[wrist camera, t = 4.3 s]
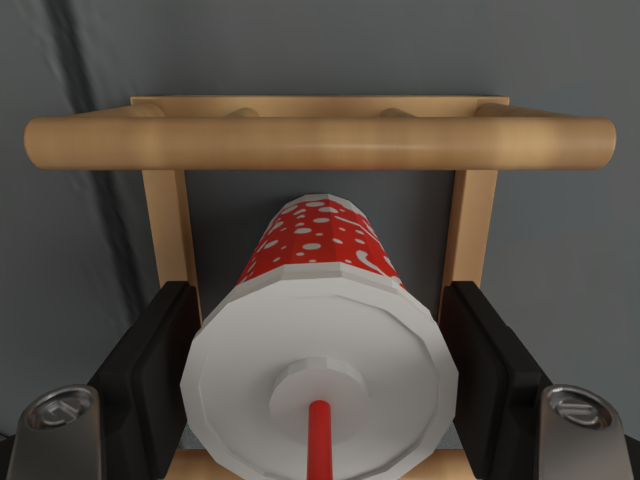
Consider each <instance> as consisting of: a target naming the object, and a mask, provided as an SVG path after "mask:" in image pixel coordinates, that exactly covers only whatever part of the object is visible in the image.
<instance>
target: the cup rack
mask: <svg viewBox="0 0 640 480" xmlns="http://www.w3.org/2000/svg"><path fill="white" fill-rule="evenodd" d="M509 99H510V98H509V97H508V96H499V95H141V96H132V97H130V101H131V105H130V106H123V107H117V108H111V109H105V110H99V111H92V112H86V113H80V114H74V115H68V116H61V117H36V118H33V119H31V120H30V121H29V122H28V123H27V125H26V127H25V129H24V135H23V141H24V147H25V151H26V153H27V156H28V158H29V159H30V161H31V162H32V163H33V164H34V165H35V166H36V167H38V168H40V169H43V170H142V175H143V181H144V188H145V194H146V200H147V207H148V213H149V219H150V225H151V232H152V238H153V244H154V251H155V257H156V263H157V270H158V276H159V282H160V289H161V288H162V287H163V285H164V284H165V283H166V282H167V281H188V282H189V284H190V286H195V287H196V290H197V297H198V305H199V314H200V322H201V328H202V324H203V323H202V315H201V307H200V298H199V290H198V282H197V274H196V265H195V257H194V249H193V240H192V232H191V224H190V216H189V207H188V199H187V191H186V182H185V174H184V170H456V172H455V180H454V189H453V197H452V205H451V214H450V222H449V230H448V238H447V247H446V255H445V263H444V272H443V280H442V288H441V296H440V305H439V313H438V321H437V325H438V327H439V322H440V314H441V305H442V297H443V290H444V287H445V286H450V284H451V282H452V281H473V282H474V283H475V284H476V285H477V287H478V288H479V287H480V281H481V274H482V268H483V262H484V255H485V249H486V243H487V236H488V230H489V224H490V217H491V211H492V205H493V198H494V192H495V186H496V179H497V173H498V170H597V169H599V168H602V167H603V166H605V165H606V164H607V163H608V162H609V160H610V159H611V157H612V155H613V153H614V150H615V146H616V131H615V127H614V125H613V123H612V122H611V121H610V120H608V119H606V118H604V117H578V116H572V115H566V114H560V113H554V112H547V111H541V110H535V109H529V108H523V107H516V106H510V105H509ZM163 480H245V479H243V478H241V477H240V476H238V475H236V474H235V473H233V472H231V471H230V470H228V469H227V468H225V467H223V466H222V465H220V464H218V463H217V462H216V461H215V460H214V459H213V457H212V456H211V455H210V454H209V452H208V451H207V450H206V449H176V451H175V454H174V456H173V459H172V462H171V464H170V467H169V469H168V472H167V475H166V477H165V478H164V479H163ZM398 480H477V479H476V478H475V477H474V475H473V472H472V470H471V467H470V464H469V462H468V459H467V456H466V454H465V451H464V449H435V450H434V452H433V453H432V454H431V455H430V456H428V457H427V458H426V459H424V460H423V461H422V462H420V463H419V464H418V465H416V466H415V467H414V468H412V469H411V470H410V471H408V472H407V473H406V474H404V475H403V476H402V477H400V478H399V479H398Z"/></svg>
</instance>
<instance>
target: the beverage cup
mask: <svg viewBox="0 0 640 480" xmlns="http://www.w3.org/2000/svg"><path fill="white" fill-rule="evenodd" d="M458 374H459V373H458V370H457V368H456V366H455V363H454V361H453V359H452V357H451V354H450V352H449V350H448V348H447V345H446V343H445V341H444V338H443V336H442V334H441V332H440V329H439V327H438V325H437V323H436V322H435V321H434V320H433V318H432V316H431V314H430V311H429V310H428V309H427V308H426V307H425V306H423V305H422V304H421V303H420V302H419V301H418V300H416V299H415V298H414V297H413V296H412V295H410V294H409V293H408V292H407V291H406V290H405V288H404V286H403V284H402V282H401V280H400V279H399V277H398V275H397V273H396V271H395V269H394V267H393V266H392V264H391V262H390V260H389V258H388V256H387V255H386V253H385V251H384V249H383V247H382V245H381V243H380V242H379V240H378V238H377V236H376V234H375V232H374V231H373V229H372V227H371V225H370V223H369V221H368V219H367V218H366V216H365V214H363V213H362V212H361V211H360V210H359V209H358V208H357V207H356V206H354V205H353V204H352V203H351V202H350V201H348V200H346V199H343V198H340V197H337V196H334V195H331V194H309V195H304V196H302V197H300V198H297V199H295V200H293V201H291V202H289V203H287V204H285V205H284V206H283V208H282V209H281V210H280V211H279V212H278V213H277V214H276V215H275V216H274V218H273V219H272V220H271V222H270V224H269V225H268V227H267V229H266V231H265V233H264V234H263V236H262V238H261V240H260V242H259V243H258V245H257V247H256V249H255V251H254V253H253V254H252V256H251V258H250V260H249V262H248V263H247V265H246V267H245V269H244V271H243V273H242V274H241V276H240V278H239V280H238V282H237V283H236V285H235V287H234V289H233V290H232V291H231V292H230V293H229V294H228V295H227V296H226V297H225V298H224V299H223V300H222V301H221V303H220V304H219V305H218V306H217V307H216V308H215V309H214V310H213V311H212V312H211V313H210V314H209V316H208V317H207V318H206V319H205V320H204V321H203V324H202V328H201V329H200V330H199V331H198V332H197V333H196V335H195V337H194V339H193V341H192V344H191V347H190V351H189V354H188V358H187V361H186V365H185V368H184V372H183V376H182V379H181V383H180V388H181V393H182V397H183V402H184V406H185V411H186V416H187V420H188V425H189V428H190V429H191V430H192V432H193V433H194V434H195V436H196V437H197V438H198V439H199V441H200V442H201V443H202V445H203V446H204V447H205V448H206V450H207V451H208V452H209V454H210V455H211V456H212V457H213V459H214V460H215V461H216V462H217V463H218V464H220V465H222V466H223V467H225V468H227V469H228V470H230V471H231V472H233V473H235V474H236V475H238V476H240V477H241V478H243V479H245V480H398V479H399V478H400V477H402V476H403V475H404V474H406V473H407V472H408V471H410V470H411V469H412V468H414V467H415V466H416V465H418V464H419V463H420V462H422V461H423V460H424V459H426V458H427V457H428V456H430V455H431V454H432V453H433V452H434V450H435V448H436V447H437V445H438V443H439V442H440V440H441V438H442V437H443V435H444V434H445V432H446V430H447V429H448V427H449V425H450V424H451V422H452V420H453V419H454V417H455V410H456V398H457V386H458Z"/></svg>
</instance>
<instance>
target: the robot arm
mask: <svg viewBox="0 0 640 480" xmlns="http://www.w3.org/2000/svg"><path fill="white" fill-rule="evenodd" d="M200 329H201V322H200V314H199V305H198V297H197V290H196V287H195V286H190V284H189V282H188V281H167V282H166V283H165V284H164V285H163V287H162V288H161V289H160V291H159V292H158V293H157V295H156V296H155V297H154V299H153V300H152V301H151V303H150V304H149V305H148V307H147V308H146V309H145V311H144V312H143V313H142V315H141V316H140V318H139V319H138V320H137V322H136V323H135V324H134V326H131V327H130V328H129V329H128V330H127V332H126V333H125V334H124V336H123V337H122V338H121V340H120V341H119V342H118V344H117V345H116V346H115V348H114V349H113V350H112V352H111V353H110V354H109V356H108V357H107V358H106V360H105V361H104V362H103V364H102V365H101V366H100V368H99V369H98V370H97V372H96V373H95V374H94V376H93V377H92V378H91V380H90V381H89V382H88V383H87V385H85V384H73V385H68V386H63V387H60V388H57V389H54V390H51V391H49V392H47V393H45V394H44V395H42V396H40V397H38V398H37V399H36V400H34V401H33V402H32V403H30V404H29V405H28V407H27V408H26V409H25V410H24V411H23V412H22V415H21V417H20V419H19V422H18V427H17V431H16V434H15V435H13V436H11V437H9V438H7V439H5V440H3V441H0V480H163V479H164V478H165V477H166V475H167V472H168V469H169V467H170V464H171V462H172V459H173V456H174V454H175V451H176V449H177V446H178V443H179V441H180V438H181V436H182V433H183V430H184V428H185V425H186V423H187V416H186V411H185V406H184V402H183V397H182V393H181V388H180V383H181V379H182V376H183V372H184V368H185V365H186V361H187V358H188V354H189V351H190V347H191V344H192V341H193V339H194V337H195V335H196V333H197V332H198V331H199V330H200ZM439 329H440V332H441V334H442V336H443V338H444V341H445V343H446V345H447V348H448V350H449V352H450V354H451V357H452V359H453V361H454V363H455V366H456V368H457V370H458V373H459V374H458V386H457V398H456V410H455V417H454V419H453V423H454V425H455V428H456V430H457V433H458V436H459V438H460V441H461V443H462V446H463V449H464V451H465V454H466V456H467V459H468V462H469V464H470V467H471V470H472V472H473V475H474V477H475V478H476V479H477V480H640V441H637V440H635V439H633V438H631V437H629V436H627V435H625V434H624V431H623V427H622V422H621V419H620V417H619V415H618V412H617V411H616V410H615V409H614V408H613V407H612V405H611V404H610V403H608V402H607V401H606V400H604V399H603V398H602V397H600V396H598V395H596V394H595V393H593V392H591V391H589V390H586V389H583V388H580V387H577V386H572V385H567V384H555V385H553V384H552V382H551V381H550V380H549V378H548V377H547V376H546V374H545V373H544V372H543V370H542V369H541V368H540V366H539V365H538V364H537V362H536V361H535V360H534V358H533V357H532V356H531V354H530V353H529V352H528V350H527V349H526V348H525V346H524V345H523V344H522V342H521V341H520V340H519V338H518V337H517V336H516V334H515V333H514V332H513V330H512V329H511V328H510V327H509V326H506V324H505V323H504V322H503V320H502V319H501V318H500V316H499V315H498V313H497V312H496V311H495V309H494V308H493V307H492V305H491V304H490V303H489V301H488V300H487V299H486V297H485V296H484V295H483V293H482V292H481V291H480V289H479V288H478V287H477V285H476V284H475V283H474V282H473V281H452V282H451V284H450V286H445V287H444V290H443V297H442V305H441V314H440V322H439Z"/></svg>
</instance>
